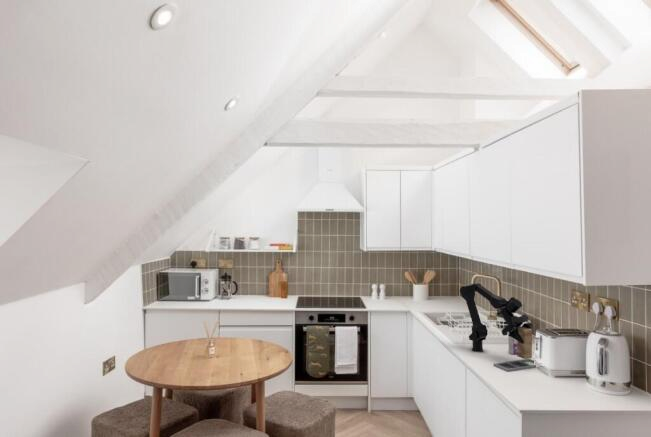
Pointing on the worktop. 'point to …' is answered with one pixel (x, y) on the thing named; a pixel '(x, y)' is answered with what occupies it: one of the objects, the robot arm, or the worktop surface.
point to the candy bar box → (512, 345)
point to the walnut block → (525, 343)
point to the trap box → (516, 365)
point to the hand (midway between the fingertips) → (526, 342)
